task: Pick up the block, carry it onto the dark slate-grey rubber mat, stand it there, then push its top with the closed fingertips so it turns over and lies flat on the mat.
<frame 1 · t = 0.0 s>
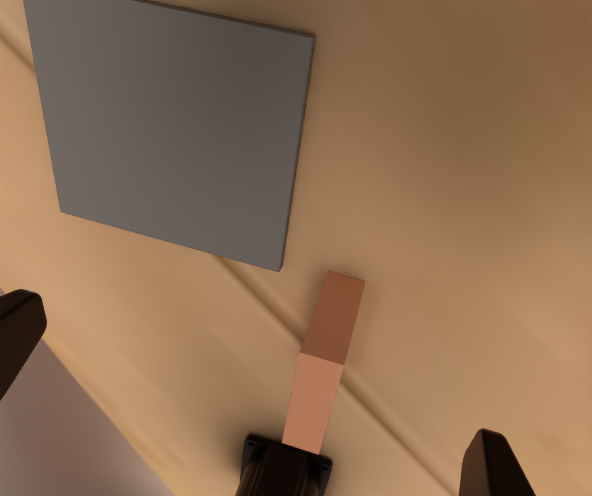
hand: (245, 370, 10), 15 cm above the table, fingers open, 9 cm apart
mat: (168, 137, 25), on the table
block: (335, 322, 29), on the table
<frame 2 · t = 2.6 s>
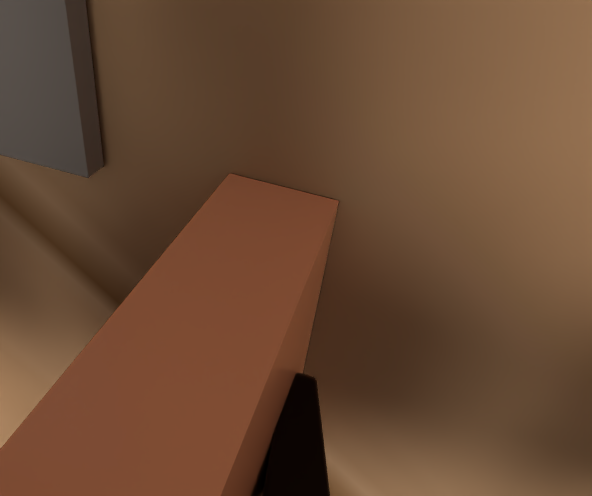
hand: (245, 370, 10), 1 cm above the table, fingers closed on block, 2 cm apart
block: (264, 327, 11), on the table, touching gripper
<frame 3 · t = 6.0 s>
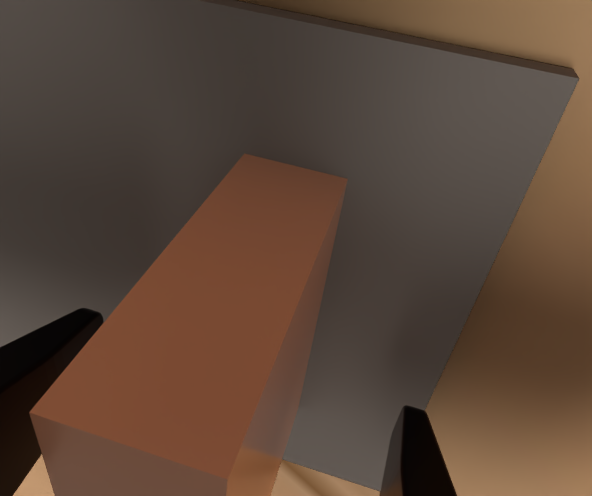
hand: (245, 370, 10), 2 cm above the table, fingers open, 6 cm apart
mat: (182, 261, 12), on the table
block: (275, 303, 12), resting on mat
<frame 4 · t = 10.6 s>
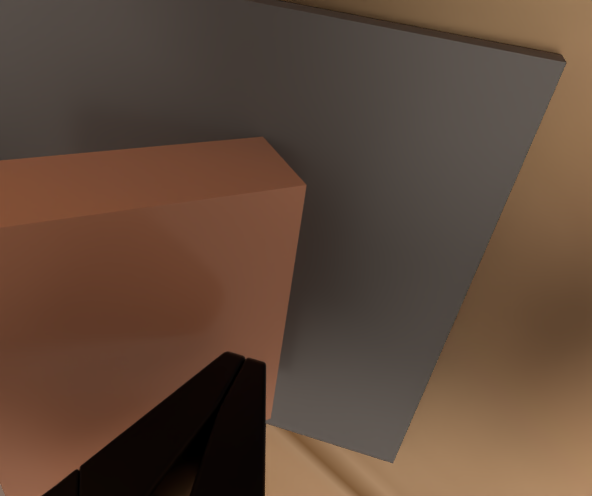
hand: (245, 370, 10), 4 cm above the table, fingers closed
mat: (201, 242, 13), on the table
block: (267, 294, 12), point 1 cm above the table, tilted 49°
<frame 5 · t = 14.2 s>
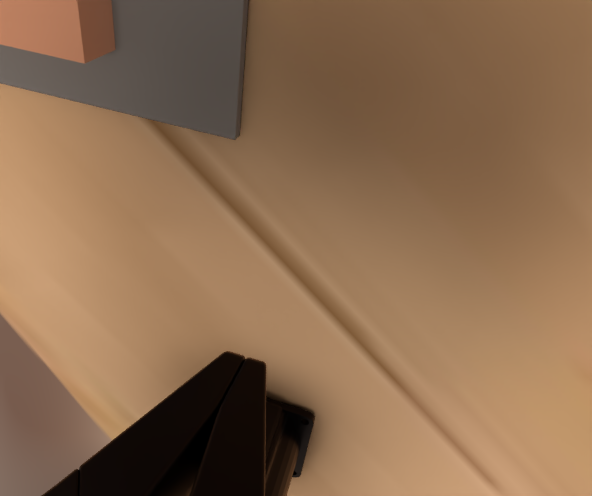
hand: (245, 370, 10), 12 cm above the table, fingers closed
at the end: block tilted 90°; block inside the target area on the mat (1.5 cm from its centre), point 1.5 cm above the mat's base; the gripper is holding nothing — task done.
